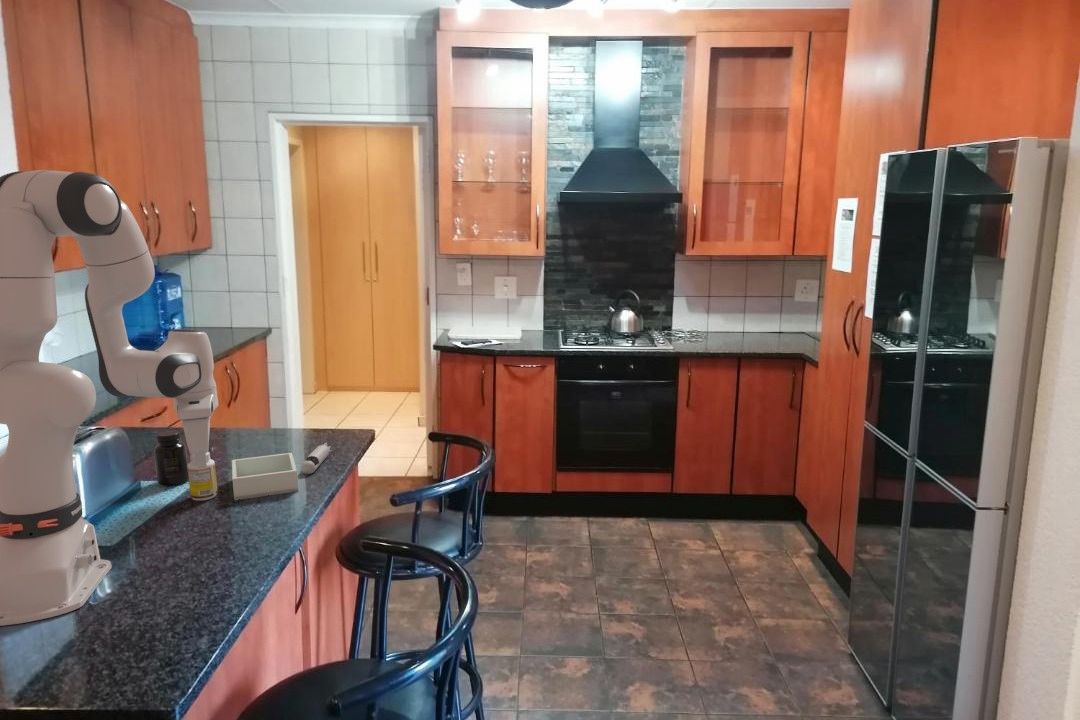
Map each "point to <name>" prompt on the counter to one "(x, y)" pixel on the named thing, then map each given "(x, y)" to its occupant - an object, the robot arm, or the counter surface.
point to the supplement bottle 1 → (170, 459)
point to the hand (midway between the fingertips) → (202, 460)
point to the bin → (264, 476)
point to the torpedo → (315, 459)
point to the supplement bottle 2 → (202, 479)
